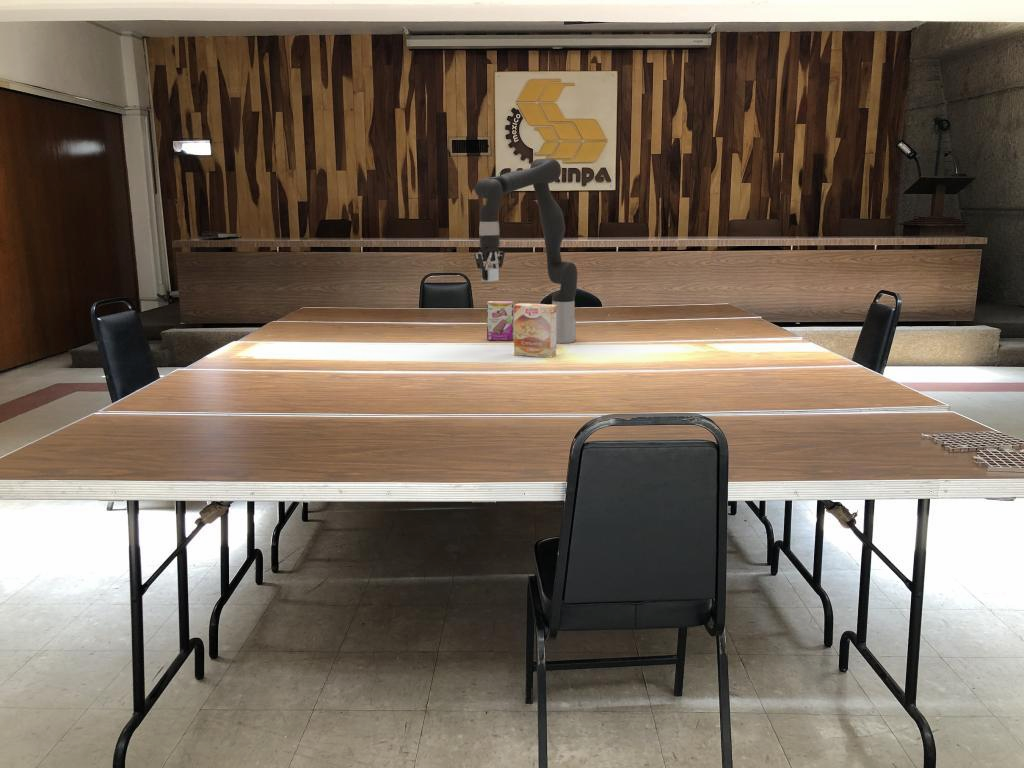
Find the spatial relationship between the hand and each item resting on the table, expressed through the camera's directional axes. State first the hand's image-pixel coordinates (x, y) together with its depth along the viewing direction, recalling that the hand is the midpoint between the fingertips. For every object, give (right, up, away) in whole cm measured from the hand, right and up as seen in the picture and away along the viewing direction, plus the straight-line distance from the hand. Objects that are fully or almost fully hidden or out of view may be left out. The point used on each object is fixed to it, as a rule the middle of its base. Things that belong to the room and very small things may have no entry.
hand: (490, 279), depth 322 cm
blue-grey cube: (0, 0, 0) cm, 0 cm away
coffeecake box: (+17, -29, +5) cm, 34 cm away
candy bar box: (+3, -21, +39) cm, 44 cm away
